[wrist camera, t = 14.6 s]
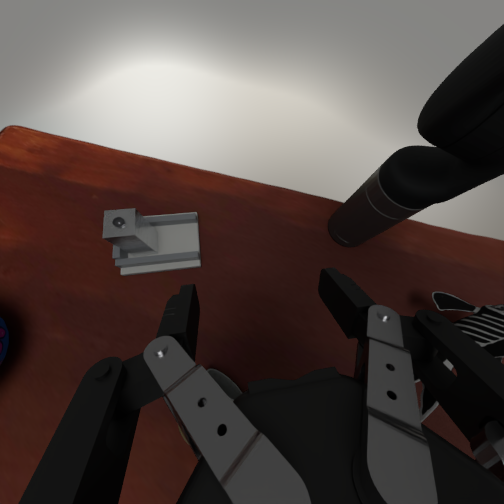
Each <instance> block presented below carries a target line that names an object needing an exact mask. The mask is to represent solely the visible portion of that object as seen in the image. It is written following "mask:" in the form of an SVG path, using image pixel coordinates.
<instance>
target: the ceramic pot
mask: <svg viewBox="0 0 504 504" xmlns="http://www.w3.org/2000/svg"><path fill="white" fill-rule="evenodd" d="M8 345H9V332H8V329H7V327H6V324H5V322H4V320H3V319H2V318H1V317H0V365H1V363H2V361H3V360H4V358H5V356H6V352H7V348H8Z"/></svg>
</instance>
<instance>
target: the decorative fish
mask: <svg viewBox="0 0 504 504" xmlns="http://www.w3.org/2000/svg"><path fill="white" fill-rule="evenodd" d="M432 296H433V300H434V302H435V303H436V305H437V308H438V309H439V310H441V311H443V310H460V311H467V312H473V313H474V314H473V315H470V316H468V317H465V318H462V319H460V320H458V321H456V322H454V323H453V324H454V325H455V326H457V327H458V328H459V329H460V330H462V331H463V332H464V333H465V334H466V335H468V336H469V337H470V338H471V339H473V340H474V341H475V342H476V343H478V344H479V345H480V346H481V347H482V348H484V349H485V350H486V351H487V352H489V353H490V354H491V355H492V356H494V357H495V358H496V359H497V360H498V361H500V362H501V361H502V357H504V305H502V304H499V305H496V306H493V305H486V306H483V307H481V308H478V307H475V306H473V305H471V304H469V303H467V302H465V301H463V300H461V299H459V298H457V297H455V296H453V295H450V294H447V293H443V292H433V293H432ZM436 356H437V357H438V358H439V359H440V360H441V361H442V362H443V363H444V364H445V365H446V366H447V367H448V368H449V369H450V370H451V371H452V368H453V365H452V364H451V363H450V362H449V361H448V360H447V359H446V358H445V357H444V356H443V355H442V354H441V353H440V352H439V351H438V353H437V354H436ZM413 375H414V381H415V383H416V382H418V381H421V380H420V379H419V378H418V377H417V375H416V374H415V373H414V372H413ZM422 386H423V390H422V393H421V395H420V396H421V400H420V401H421V407H420V409H419V415H420V422H422V421H423V420H424V419H425V418H426V417H427V416H428V415H429V414H430V413H431V412H432V411H433V410H434V409H435V408H436V407H437V406H438V404H439V403H438V402H437V400H436V399H435V398H434V397H433V395H432V394H431V393H430V392H429V390H428V389H427V388H426V387H425V385H424V384H423V383H422Z"/></svg>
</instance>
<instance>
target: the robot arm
mask: <svg viewBox="0 0 504 504" xmlns="http://www.w3.org/2000/svg"><path fill="white" fill-rule="evenodd" d="M417 128H418V131H419V133H420V135H421V136H422V137H423V138H424V139H426V140H427V141H428V142H429V143H431V144H432V145H434V146H436V147H429V146H408V147H404V148H402V149H399V150H398V151H396V152H395V153H393V154H392V155H391V156H390V157H389V158H388V159H387V160H386V161H385V162H384V163H383V164H382V165H381V166H380V167H379V168H378V169H377V170H376V171H375V172H374V173H373V174H372V175H371V176H370V177H369V178H368V180H367V181H366V182H365V183H364V184H363V185H362V186H361V187H360V188H359V189H358V190H357V191H356V192H355V193H354V194H353V195H352V196H351V197H350V198H349V199H348V200H347V201H346V202H345V203H344V204H343V205H342V206H341V207H340V208H339V209H338V210H337V211H336V212H335V213H334V214H333V215H332V216H331V217H330V219H329V222H328V229H329V233H330V235H331V236H332V238H333V239H334V240H335V241H336V242H337V243H339V244H341V245H343V246H346V247H355V246H358V245H360V244H362V243H364V242H365V241H367V240H369V239H371V238H373V237H375V236H376V235H378V234H380V233H382V232H384V231H385V230H387V229H389V228H391V227H393V226H394V225H396V224H398V223H400V222H402V221H403V220H405V219H407V218H409V217H411V216H412V215H414V214H416V213H418V212H419V211H421V210H423V209H425V208H427V207H428V206H431V205H432V204H435V203H441V202H445V201H448V200H450V199H452V198H454V197H456V196H458V195H460V194H462V193H464V192H466V191H468V190H471V189H472V188H475V187H477V186H478V185H481V184H483V183H485V182H487V181H490V180H492V179H494V178H496V177H498V176H500V175H503V174H504V24H503V25H502V26H501V27H500V28H499V29H497V30H496V31H495V32H494V33H493V34H492V35H491V36H490V37H488V38H487V39H486V40H485V41H484V42H483V43H482V44H481V45H480V46H478V47H477V48H476V49H475V50H474V51H473V52H472V53H471V54H470V55H469V56H468V57H467V58H465V59H464V60H463V61H462V62H461V63H460V64H459V66H457V67H456V68H455V69H454V71H452V72H451V74H450V75H448V77H447V78H446V79H445V80H444V81H443V82H442V84H440V86H439V87H438V88H437V89H436V90H435V91H434V93H433V94H432V95H431V97H430V98H429V100H428V101H427V102H426V104H425V106H424V107H423V109H422V111H421V113H420V116H419V118H418V124H417ZM318 292H319V295H320V297H321V299H322V301H323V302H324V303H325V305H326V306H327V308H328V309H329V311H330V312H331V314H332V315H333V317H334V318H335V320H336V321H337V323H338V324H339V326H340V327H341V329H342V330H343V332H344V333H345V335H346V336H347V338H348V339H351V338H357V339H358V344H357V352H356V362H355V372H354V378H352V377H349V376H346V375H342V374H338V372H337V370H336V368H335V367H330V368H325V369H319V370H314V371H312V372H310V373H308V374H306V375H304V376H302V377H300V378H299V379H297V380H283V379H272V378H269V379H264V380H258V381H253V382H248V389H249V390H247V391H245V392H243V393H242V394H241V395H239V396H238V397H237V398H236V399H235V400H234V401H233V402H232V400H231V399H230V398H229V397H228V396H227V395H226V393H225V392H224V391H223V390H222V389H221V387H220V386H219V385H218V384H217V383H216V382H215V380H214V379H213V378H212V377H211V376H210V375H209V373H208V372H207V371H206V370H205V369H204V368H203V367H202V366H201V365H200V364H199V365H196V364H195V354H196V345H197V335H198V325H199V316H200V306H199V300H198V296H197V291H196V287H195V284H190V285H182V286H181V289H180V293H179V294H178V295H173V296H172V297H171V298H170V299H169V300H168V302H167V304H166V308H165V311H164V314H163V317H162V320H161V323H160V327H159V330H158V333H157V336H156V339H155V340H153V341H152V342H151V343H149V345H148V346H147V347H146V349H145V351H144V352H143V353H141V354H139V355H137V356H135V357H132V358H130V359H128V360H125V361H123V362H122V361H121V359H120V358H118V357H108V358H105V359H103V360H101V361H99V362H97V363H96V364H95V365H93V366H92V367H91V368H90V369H89V370H88V371H87V372H86V374H85V375H84V377H83V379H82V381H81V383H80V385H79V387H78V389H77V391H76V393H75V395H74V397H73V398H72V400H71V402H70V404H69V406H68V408H67V410H66V412H65V414H64V416H63V418H62V420H61V422H60V424H59V426H58V428H57V430H56V432H55V434H54V435H53V437H52V439H51V441H50V443H49V445H48V447H47V449H46V451H45V453H44V455H43V457H42V459H41V461H40V463H39V465H38V467H37V469H36V471H35V472H34V474H33V476H32V478H31V480H30V482H29V484H28V486H27V488H26V490H25V492H24V494H23V496H22V498H21V500H20V502H19V504H118V502H119V498H120V494H121V489H122V485H123V481H124V477H125V472H126V468H127V464H128V460H129V456H130V451H131V447H132V443H133V439H134V434H135V430H136V426H137V422H138V417H139V413H140V409H141V407H142V406H144V405H146V404H148V403H150V402H152V401H154V400H156V399H158V398H160V397H163V399H164V401H165V402H166V404H167V406H168V408H169V409H170V411H171V413H172V415H173V416H174V418H175V420H176V421H177V423H178V425H179V427H180V429H181V430H182V432H183V434H184V436H185V438H186V440H187V442H188V443H189V445H190V447H191V449H192V450H193V452H194V454H195V456H196V457H197V459H198V461H199V462H198V463H197V465H196V467H195V469H194V471H193V473H192V475H191V477H190V478H189V480H188V482H187V484H186V486H185V488H184V490H183V492H182V493H181V495H180V497H179V499H178V501H177V503H176V504H504V365H503V364H502V363H501V362H500V361H498V360H497V359H496V358H495V357H494V356H492V355H491V354H490V353H489V352H487V351H486V350H485V349H484V348H482V347H481V346H480V345H479V344H478V343H476V342H475V341H474V340H473V339H471V338H470V337H469V336H468V335H466V334H465V333H464V332H463V331H462V330H460V329H459V328H458V327H457V326H455V325H454V324H453V323H452V322H451V321H449V320H448V319H447V318H445V317H444V316H442V315H441V314H439V313H436V312H434V311H430V310H419V311H417V313H416V315H415V317H410V316H400V315H398V314H397V313H396V312H395V311H394V310H392V309H390V308H388V307H386V306H382V305H377V304H376V303H375V302H374V301H373V300H372V299H371V298H370V297H369V296H368V295H367V294H366V293H365V292H364V291H363V290H362V289H361V288H360V287H359V286H358V285H356V283H355V282H354V281H353V280H352V279H351V278H349V277H347V276H346V275H344V274H340V273H339V272H338V271H337V269H336V268H326V269H322V270H321V273H320V280H319V286H318ZM438 351H439V352H440V353H441V354H442V355H443V356H444V357H445V358H446V359H447V360H448V361H449V362H450V363H451V364H452V365H453V366H454V368H455V369H456V371H457V377H456V376H455V375H454V373H453V372H452V371H451V370H450V369H449V368H448V367H447V366H446V365H445V364H444V363H443V362H442V361H441V360H440V359H439V358H438V357H437V356H436V354H437V353H438ZM413 372H414V373H415V374H416V375H417V377H418V378H419V379H420V380H421V382H422V383H423V384H424V385H425V387H426V388H427V389H428V390H429V392H430V393H431V394H432V395H433V397H434V398H435V399H436V400H437V402H438V403H439V404H440V405H441V407H442V408H443V409H444V410H445V412H446V413H447V414H448V415H449V417H450V418H451V419H452V420H453V422H454V423H455V424H456V425H457V427H458V428H459V429H460V430H461V432H462V433H463V434H464V435H465V437H466V438H467V439H468V440H469V442H470V447H471V450H472V452H473V454H474V456H475V458H476V459H475V460H474V459H472V458H471V457H469V456H468V455H466V454H465V453H463V452H462V451H461V450H459V449H458V448H456V447H455V446H453V445H452V444H451V443H449V442H448V441H446V440H445V439H443V438H442V437H440V436H439V435H438V434H436V433H435V432H433V431H432V430H430V429H429V428H428V427H426V426H425V425H423V424H422V423H421V422H420V415H419V408H418V401H417V395H416V388H415V381H414V375H413Z"/></svg>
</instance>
